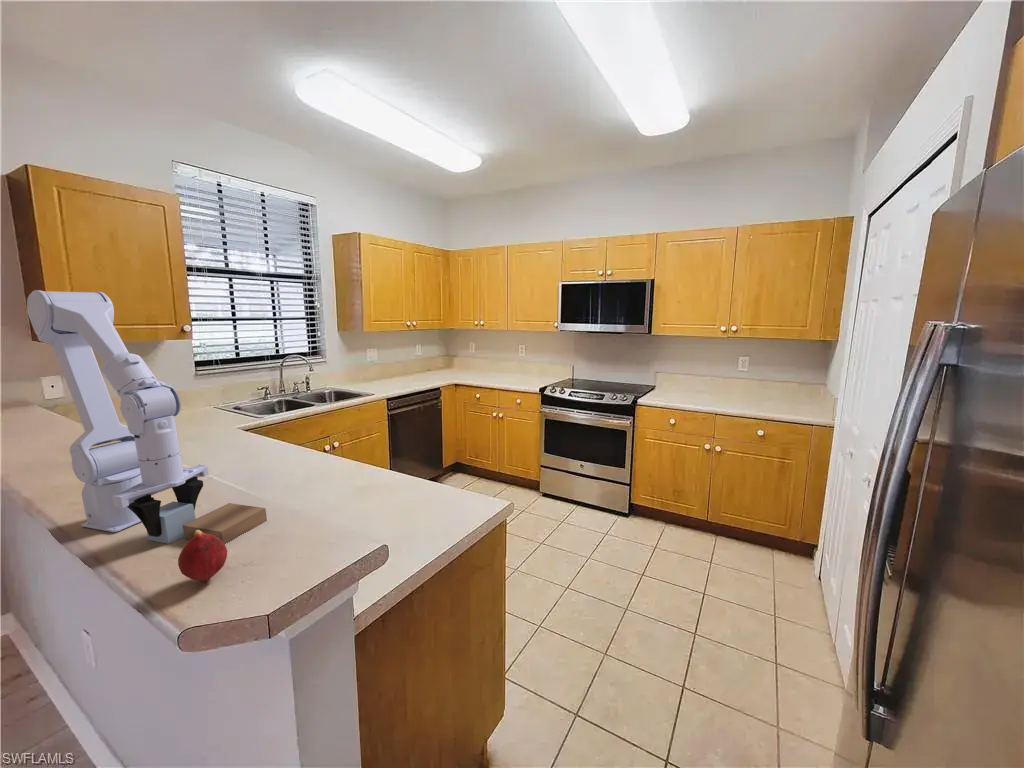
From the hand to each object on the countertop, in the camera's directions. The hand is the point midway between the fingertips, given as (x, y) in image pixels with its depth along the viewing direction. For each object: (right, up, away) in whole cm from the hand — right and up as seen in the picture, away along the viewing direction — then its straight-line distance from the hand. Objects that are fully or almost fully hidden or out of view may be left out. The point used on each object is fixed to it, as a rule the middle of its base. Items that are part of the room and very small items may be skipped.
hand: (172, 527), depth 76 cm
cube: (0, -1, 0) cm, 1 cm away
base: (+9, -1, +2) cm, 9 cm away
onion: (+16, -4, -13) cm, 21 cm away
